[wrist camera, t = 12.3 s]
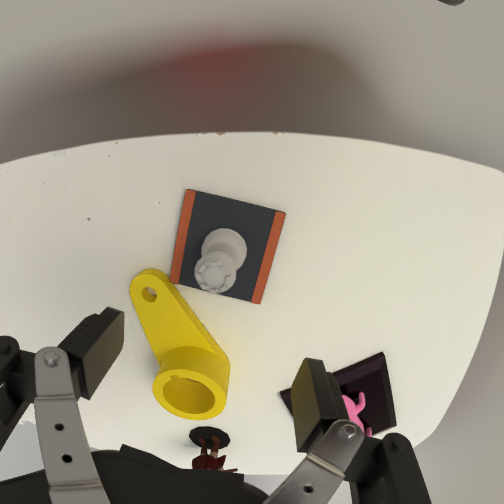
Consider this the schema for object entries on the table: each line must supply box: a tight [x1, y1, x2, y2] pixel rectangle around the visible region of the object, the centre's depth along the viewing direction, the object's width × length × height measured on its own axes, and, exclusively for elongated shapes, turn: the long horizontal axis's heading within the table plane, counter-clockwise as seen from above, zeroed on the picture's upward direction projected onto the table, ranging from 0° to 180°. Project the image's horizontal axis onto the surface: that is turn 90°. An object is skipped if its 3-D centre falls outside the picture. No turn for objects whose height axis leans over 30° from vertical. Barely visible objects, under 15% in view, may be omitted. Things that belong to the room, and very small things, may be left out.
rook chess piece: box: [195, 228, 247, 294], centre depth 25 cm, size 4×4×8 cm
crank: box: [129, 269, 230, 420], centre depth 30 cm, size 18×8×6 cm, turn 21°
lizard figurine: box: [280, 352, 397, 437], centre depth 33 cm, size 15×20×7 cm
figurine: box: [189, 427, 238, 472], centre depth 31 cm, size 7×7×15 cm
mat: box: [169, 189, 286, 304], centre depth 29 cm, size 10×10×1 cm
